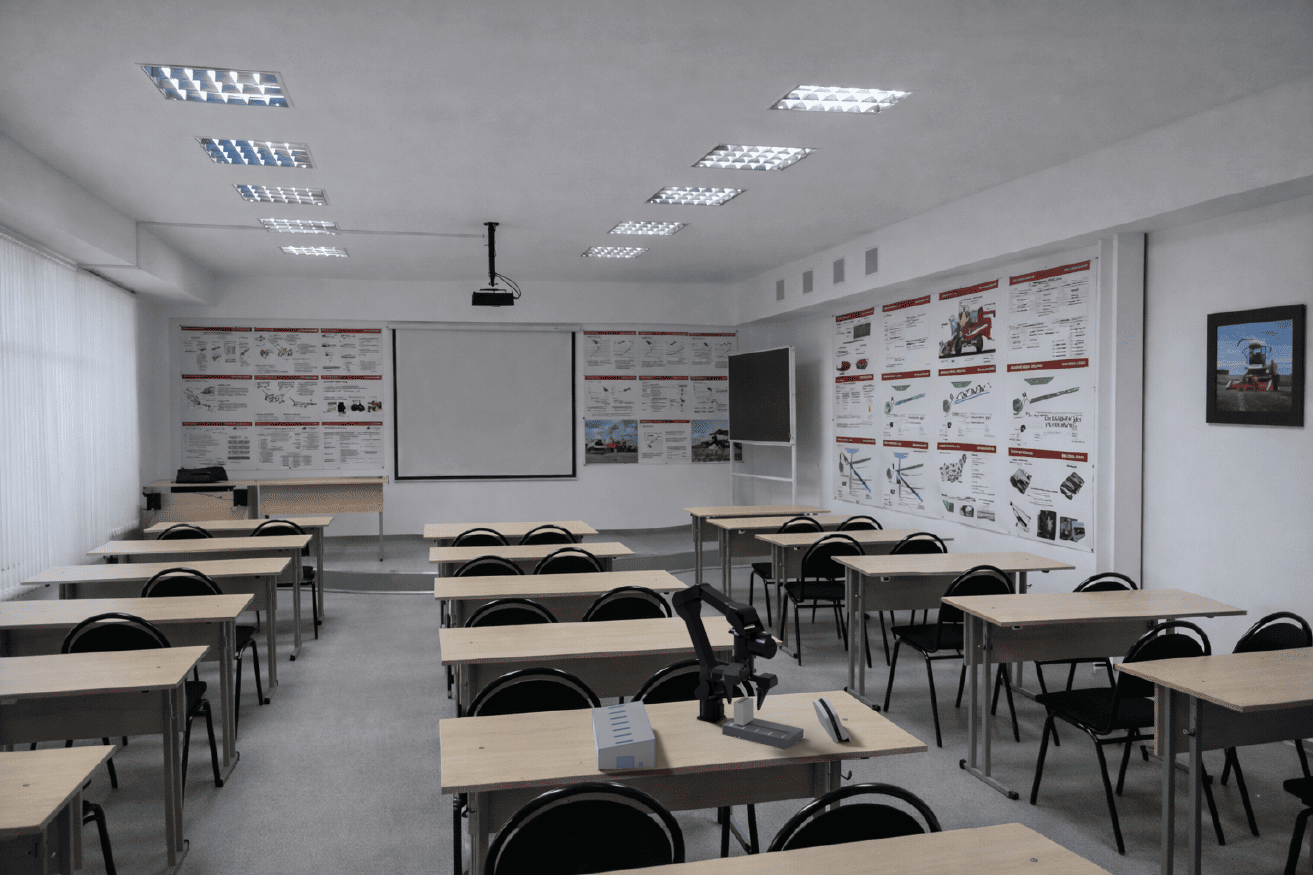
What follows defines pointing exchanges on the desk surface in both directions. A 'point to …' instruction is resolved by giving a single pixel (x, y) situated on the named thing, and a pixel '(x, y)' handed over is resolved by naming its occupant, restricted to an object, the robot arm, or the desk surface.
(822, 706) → the grey curved piece
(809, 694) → the desk surface
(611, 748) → the warehouse
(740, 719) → the fader knob
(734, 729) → the fader board
